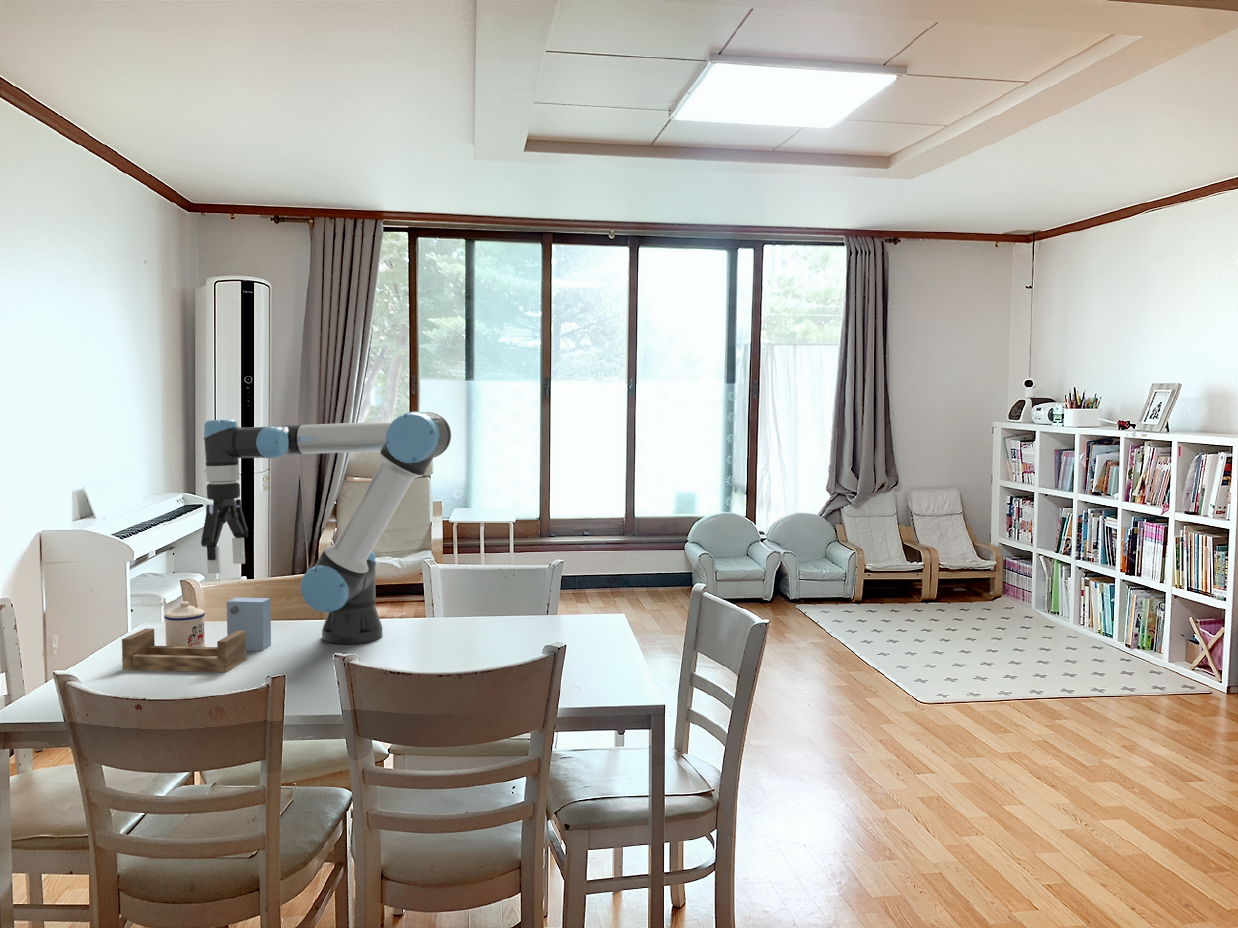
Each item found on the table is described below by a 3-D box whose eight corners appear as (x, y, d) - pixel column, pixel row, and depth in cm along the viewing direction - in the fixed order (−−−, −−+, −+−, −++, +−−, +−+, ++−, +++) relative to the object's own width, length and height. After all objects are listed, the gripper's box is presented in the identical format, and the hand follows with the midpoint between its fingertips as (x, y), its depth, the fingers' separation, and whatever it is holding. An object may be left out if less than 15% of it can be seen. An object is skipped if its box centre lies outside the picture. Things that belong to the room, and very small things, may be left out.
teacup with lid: (193, 654, 225) (192, 606, 224) (157, 653, 226) (156, 605, 225) (218, 641, 237) (217, 596, 236) (183, 640, 238) (182, 595, 237)
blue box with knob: (271, 645, 234) (270, 598, 233) (261, 651, 229) (261, 602, 228) (235, 644, 234) (235, 597, 234) (225, 650, 229) (224, 602, 228)
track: (245, 659, 221) (245, 630, 220) (226, 672, 211) (226, 641, 210) (146, 657, 222) (145, 628, 221) (122, 669, 212) (121, 639, 211)
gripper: (230, 478, 242) (234, 559, 243) (182, 487, 217) (187, 577, 218) (259, 478, 241) (262, 559, 243) (214, 486, 217) (218, 577, 218)
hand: (227, 568), depth 231 cm, fingers open, 13 cm apart
